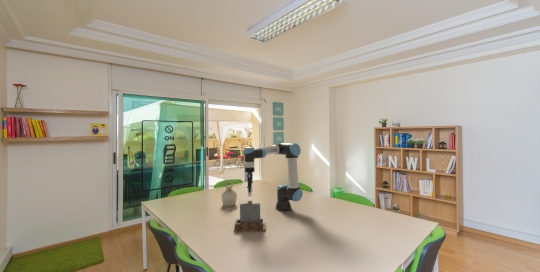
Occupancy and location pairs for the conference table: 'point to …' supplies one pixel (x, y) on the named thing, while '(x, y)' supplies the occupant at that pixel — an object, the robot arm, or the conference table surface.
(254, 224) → the u rest
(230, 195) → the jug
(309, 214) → the conference table surface
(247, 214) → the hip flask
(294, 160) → the robot arm
